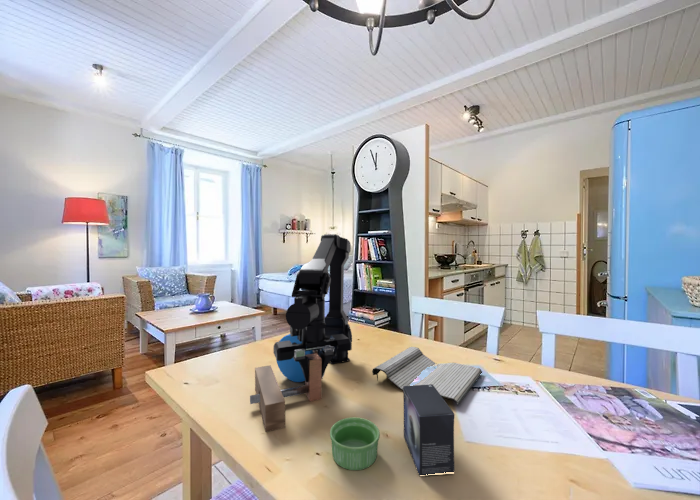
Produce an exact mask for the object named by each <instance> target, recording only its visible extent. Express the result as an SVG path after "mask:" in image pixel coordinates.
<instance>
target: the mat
mask: <svg viewBox="0 0 700 500" xmlns="http://www.w3.org/2000/svg"><path fill="white" fill-rule="evenodd" d="M436 364H437V368H436V369H435V370H434V371H433V372H431V373H430V374H429V375H428V376H427V377H425V378H424V379H423V380H421V381H420V382H419V383H417V384H415V385H430V384H433V386H434V387H435V388H436V390H437V391H438V392H439V394H440V395H441V396H442V398H443V399H448V400H451V401H455V403H456V404H457V405H459V404H461V402H462V400H463V399H464V398H465V397H466V396H467V394H468V393H469V391H470V390H471V389H472V387H474V385H473V384H474V383H476V382H477V381H478V380H479V378H480V377H481V376H480V374H481V373H482V372H483V371H482V369H481V368H479V367H475V366H470V365H467V364H461V363H457V362H447V363H445V362H443V363H437V362H435V361H433V360H432V359H431V358H429V357H428V356H427V355H425V354H424V353H423V352H422V350H421V349H420V348H419V347H416V346H409V347H408V348H406V349H405V350H402V351H401V352H399V353H397V354H396V355H394V356H393V357H391V358H389V359H388V360H385V361H384V362H382V363H380V364H378V365H377V366H375V367H373V368H372V371H371V372H372V373H371V374H372V376H376V381H377V382H379V373H380V372H383V373H384V374H385V376H386V377H387V379H388V380H390V382H391V383H392V384H394V385H395V386H396V387H397V388H398V389H401V390H402V391H403V386H410V384H411V383H412V382H413V381H414V379H416V378H417V376H419V375H420V374H421V372H422V371H423V370H425V369H426V368H427V367H430V366H433V365H434V366H436ZM434 366H433V367H434ZM482 374H483V373H482ZM479 376H480V377H479ZM478 377H479V378H478ZM477 379H478V380H477ZM476 380H477V381H476Z"/></svg>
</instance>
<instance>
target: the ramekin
mask: <svg viewBox="0 0 700 500" xmlns="http://www.w3.org/2000/svg"><path fill="white" fill-rule="evenodd" d="M329 436H330V442H331V453H332V454H331V455H332V458H333V461H334V462H335V463H336V464H337V465H338V466H340V467H341V468H342V469H345V470H350V471H361V470H364V469H367V468H369V467H370V465H371V466H372V465H373V464H374V463H375V461H376V460H377V459H376V458H377V457H378V456H377V455H378V447H379V446H378V445H379V440H380V429H379V427H378V426H377V425H376V424H375V423H374V422H373V421H371V420H369V419H366V418H364V417H354V416H353V417H346V418H342V419H340V420H338V421H336V422H335V423H334V424H333V425H332V426H331V427H330V431H329Z"/></svg>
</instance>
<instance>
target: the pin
mask: <svg viewBox="0 0 700 500" xmlns="http://www.w3.org/2000/svg"><path fill="white" fill-rule="evenodd" d="M306 357H307V358H308V375H309V378H308V382H306V381H304V385H301V386H300V385H299V386H294V387H289V388H284V389H283V388H282V389H280V390H281V392H282V395H283V397H284V399H285V398H289V397H293V396H299V395H303V394H304V395H305V396H306V397H307V399H308V401H309V402H313V401H318V400H322V379H321V377H322V359H321V357H320V356H319V355H318V354H317V353H314V354H307V355H306ZM249 402H250V403H249V404H250V405H252V404H259V402H260V394H251V395H249Z"/></svg>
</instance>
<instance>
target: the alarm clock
mask: <svg viewBox="0 0 700 500" xmlns="http://www.w3.org/2000/svg"><path fill="white" fill-rule="evenodd" d="M289 340H290V342H291V343H292V345H294V344H301V343H302V341H301V342H300V341H299V340H298V339H297V336H293V337H291V336H290V333H289V334H286V335H284V336H283V337H282V338H280V340H279V341H278V342H281V341H289ZM314 353H317V354H318V355H319V350H318V349H317V350H310V351H305V355H307V354H314ZM275 359H276V358H275ZM276 364H277V367H278V369H279V371H280V373H282V375H283V376H284V377H285V378H286V379H288V380H289V381H290V382H293V383H302V382H305V378H304V375H303V372H302V369H301V366H300V363H299V362H296V361H295V360H294V359H293V358H292V359H290V360H283V361H277V359H276ZM325 373H326V371H325V372H324V374H323V376H322V379H321V380H323V379H324V376H325Z"/></svg>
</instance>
